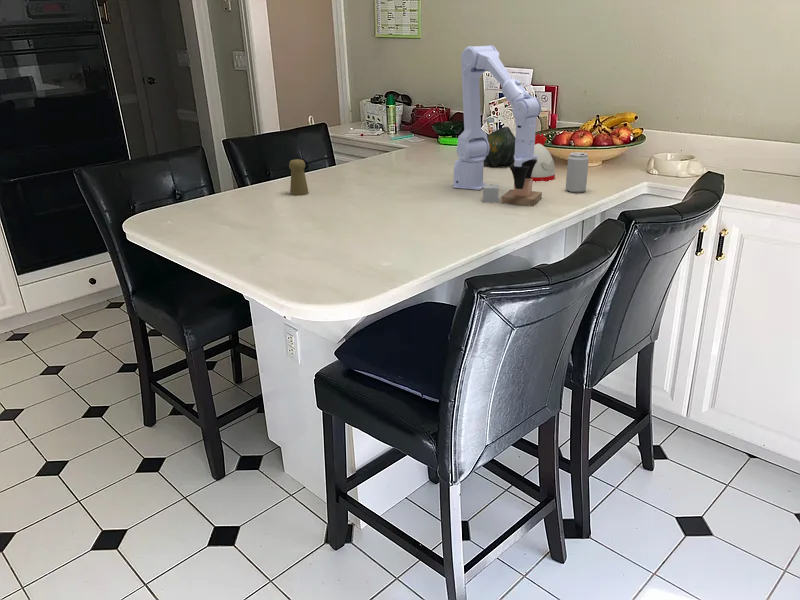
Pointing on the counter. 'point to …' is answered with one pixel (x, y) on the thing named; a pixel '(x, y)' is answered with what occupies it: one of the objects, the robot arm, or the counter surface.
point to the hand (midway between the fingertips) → (522, 185)
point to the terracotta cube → (524, 188)
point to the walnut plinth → (521, 198)
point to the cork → (298, 178)
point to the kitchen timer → (542, 161)
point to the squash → (501, 147)
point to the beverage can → (577, 172)
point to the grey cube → (490, 193)
